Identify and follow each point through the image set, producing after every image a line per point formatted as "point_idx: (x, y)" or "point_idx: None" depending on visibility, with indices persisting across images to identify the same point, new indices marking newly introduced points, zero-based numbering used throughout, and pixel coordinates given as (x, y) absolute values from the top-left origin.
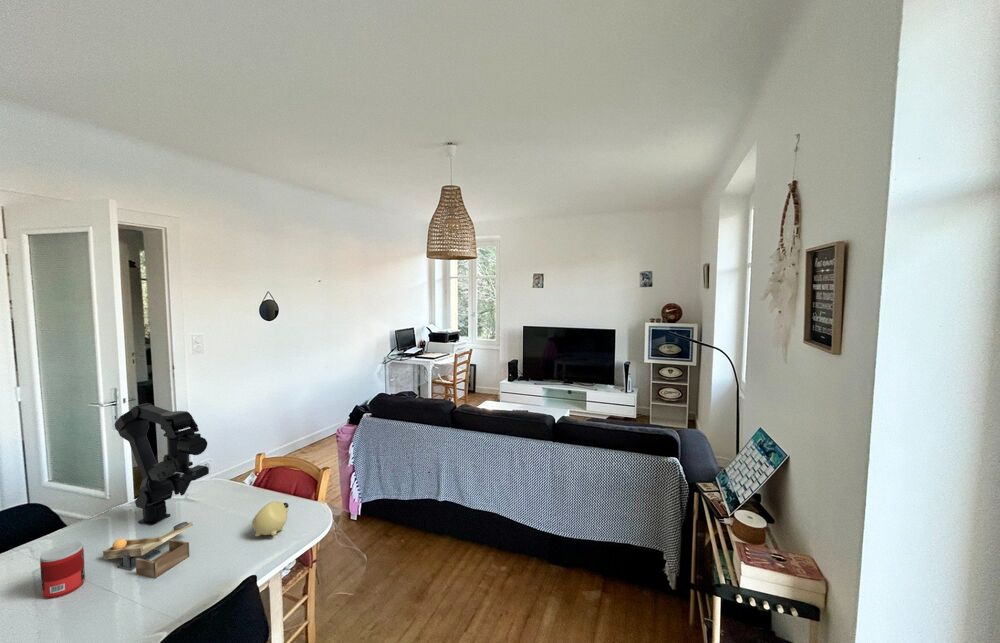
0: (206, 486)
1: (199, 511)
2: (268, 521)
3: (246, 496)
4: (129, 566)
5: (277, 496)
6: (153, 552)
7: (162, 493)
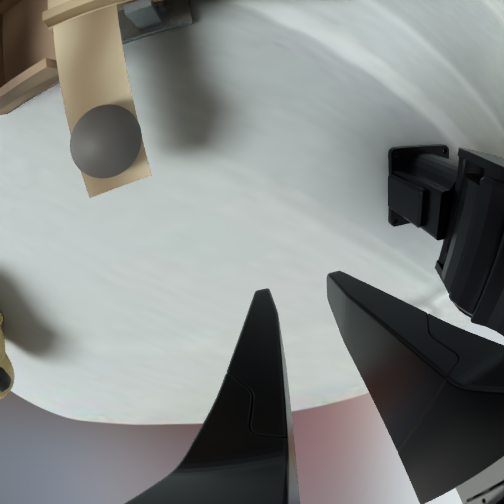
0: None
1: (315, 291)
2: None
3: None
4: None
5: (172, 418)
6: (132, 22)
7: (468, 244)
